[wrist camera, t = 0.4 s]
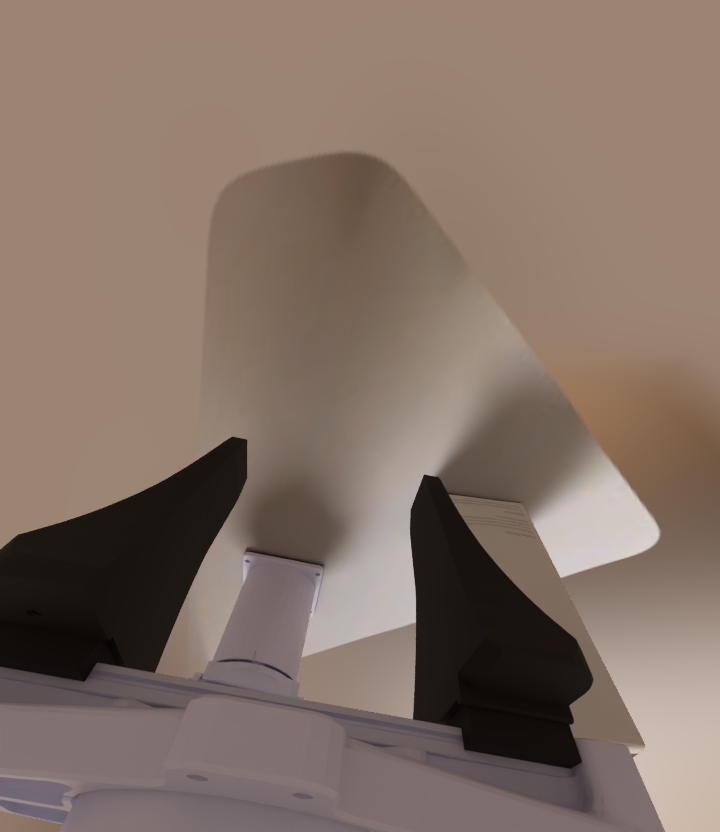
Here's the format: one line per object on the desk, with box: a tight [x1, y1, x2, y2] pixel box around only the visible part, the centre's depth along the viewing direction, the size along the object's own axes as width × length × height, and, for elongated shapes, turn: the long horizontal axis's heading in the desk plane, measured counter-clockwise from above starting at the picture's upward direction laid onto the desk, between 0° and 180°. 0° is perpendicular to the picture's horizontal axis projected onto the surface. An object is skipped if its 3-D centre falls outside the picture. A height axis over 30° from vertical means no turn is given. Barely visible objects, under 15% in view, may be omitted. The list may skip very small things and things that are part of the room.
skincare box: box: [449, 494, 645, 758], centre depth 22 cm, size 8×6×15 cm
